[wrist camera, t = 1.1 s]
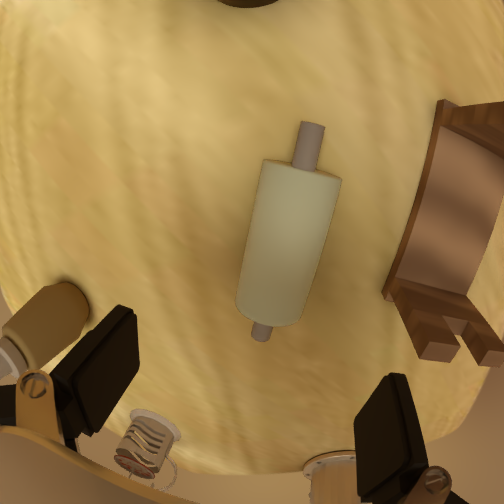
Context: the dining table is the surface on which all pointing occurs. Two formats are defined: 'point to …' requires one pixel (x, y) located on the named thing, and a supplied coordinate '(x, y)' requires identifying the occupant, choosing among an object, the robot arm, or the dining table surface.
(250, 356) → the dining table surface
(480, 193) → the holder
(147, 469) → the french press
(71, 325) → the squeeze bottle
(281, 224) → the roll
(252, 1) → the water bottle
